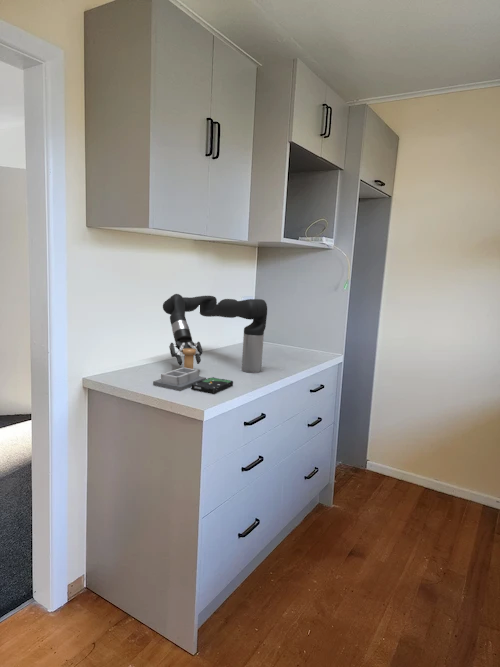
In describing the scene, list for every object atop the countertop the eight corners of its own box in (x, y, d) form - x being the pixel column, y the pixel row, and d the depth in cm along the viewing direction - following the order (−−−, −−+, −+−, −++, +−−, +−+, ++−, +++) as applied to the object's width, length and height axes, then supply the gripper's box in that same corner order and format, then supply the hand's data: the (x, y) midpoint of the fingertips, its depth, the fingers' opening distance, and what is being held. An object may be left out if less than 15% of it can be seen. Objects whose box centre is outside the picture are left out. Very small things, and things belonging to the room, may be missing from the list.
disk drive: (214, 396, 166) (233, 387, 179) (214, 389, 165) (233, 380, 178) (191, 391, 170) (211, 382, 183) (191, 384, 170) (211, 376, 183)
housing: (179, 376, 189) (180, 365, 188) (205, 381, 183) (206, 370, 183) (153, 385, 173) (153, 373, 172) (180, 391, 167) (181, 379, 167)
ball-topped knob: (186, 371, 197) (187, 347, 195) (197, 373, 194) (198, 349, 193) (179, 374, 192) (180, 349, 190) (190, 376, 189) (191, 351, 188)
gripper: (193, 337, 205) (202, 367, 197) (164, 338, 198) (171, 369, 190) (198, 327, 200) (208, 357, 192) (168, 328, 193) (176, 359, 185)
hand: (190, 363), depth 191 cm, fingers open, 7 cm apart
